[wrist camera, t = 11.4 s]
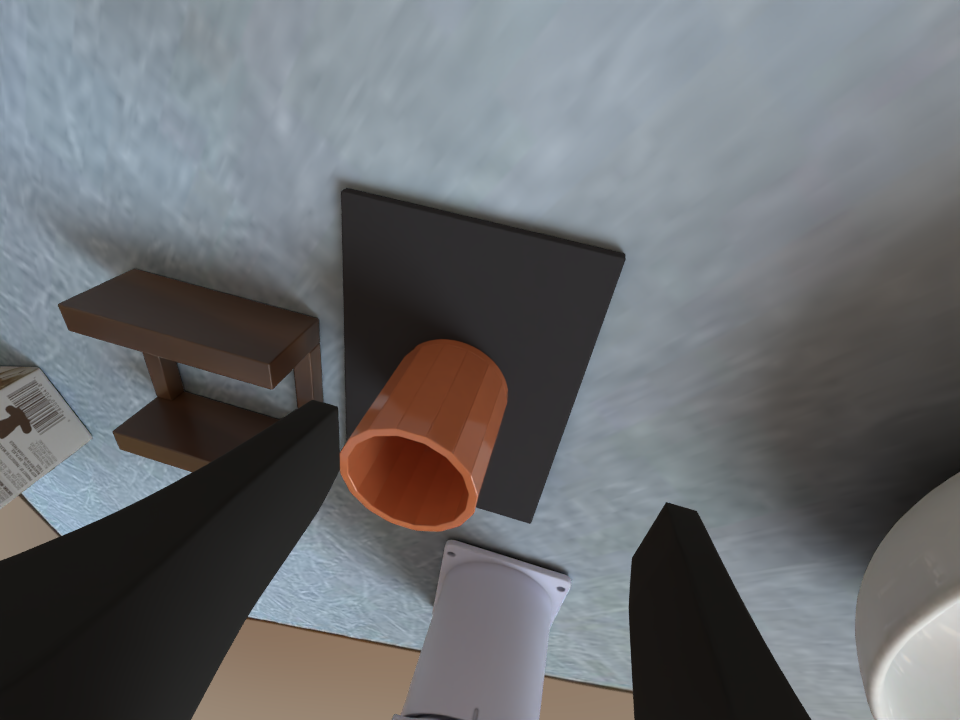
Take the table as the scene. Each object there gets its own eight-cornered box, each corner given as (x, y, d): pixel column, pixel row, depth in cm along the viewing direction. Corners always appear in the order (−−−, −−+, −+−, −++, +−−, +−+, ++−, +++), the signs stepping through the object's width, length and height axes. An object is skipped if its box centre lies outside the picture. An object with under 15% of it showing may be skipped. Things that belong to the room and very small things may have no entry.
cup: (497, 442, 23) (465, 547, 18) (396, 413, 24) (340, 507, 19) (518, 356, 20) (487, 455, 15) (402, 325, 21) (337, 411, 16)
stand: (326, 449, 28) (288, 503, 24) (175, 403, 29) (119, 449, 25) (319, 318, 22) (268, 364, 19) (133, 267, 23) (56, 304, 20)
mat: (532, 517, 27) (530, 524, 26) (350, 462, 28) (346, 468, 27) (625, 253, 17) (626, 258, 17) (346, 187, 18) (340, 190, 18)
